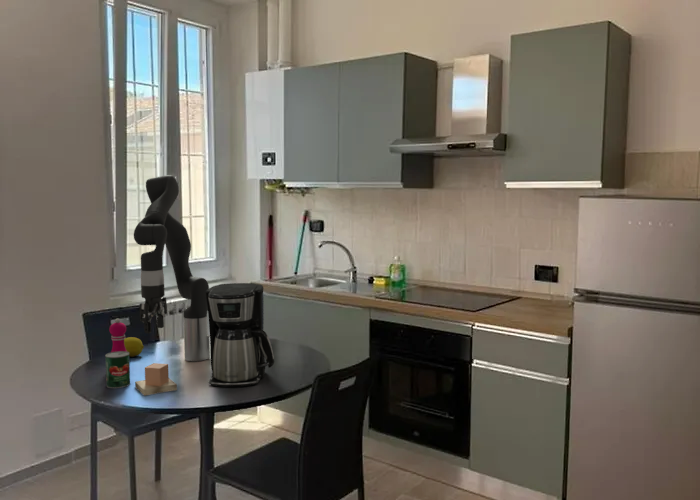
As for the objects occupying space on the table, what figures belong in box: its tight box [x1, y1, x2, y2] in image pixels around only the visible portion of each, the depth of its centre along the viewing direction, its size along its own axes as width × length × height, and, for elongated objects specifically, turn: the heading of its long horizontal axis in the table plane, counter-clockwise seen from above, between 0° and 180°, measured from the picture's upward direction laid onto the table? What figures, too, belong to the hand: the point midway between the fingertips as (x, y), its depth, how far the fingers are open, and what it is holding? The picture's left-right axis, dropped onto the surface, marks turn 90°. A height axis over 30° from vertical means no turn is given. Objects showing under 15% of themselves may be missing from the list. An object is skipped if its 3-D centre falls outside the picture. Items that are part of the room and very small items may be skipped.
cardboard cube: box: [144, 362, 170, 386], centre depth 214 cm, size 6×6×6 cm
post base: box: [134, 377, 178, 397], centre depth 215 cm, size 11×11×7 cm
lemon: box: [124, 336, 145, 358], centre depth 257 cm, size 11×8×8 cm
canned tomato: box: [104, 351, 131, 389], centre depth 219 cm, size 8×8×11 cm
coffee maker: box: [206, 282, 275, 388], centre depth 229 cm, size 23×32×34 cm
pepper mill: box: [108, 318, 127, 353], centre depth 236 cm, size 7×7×20 cm
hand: (154, 330), depth 214 cm, fingers open, 8 cm apart
